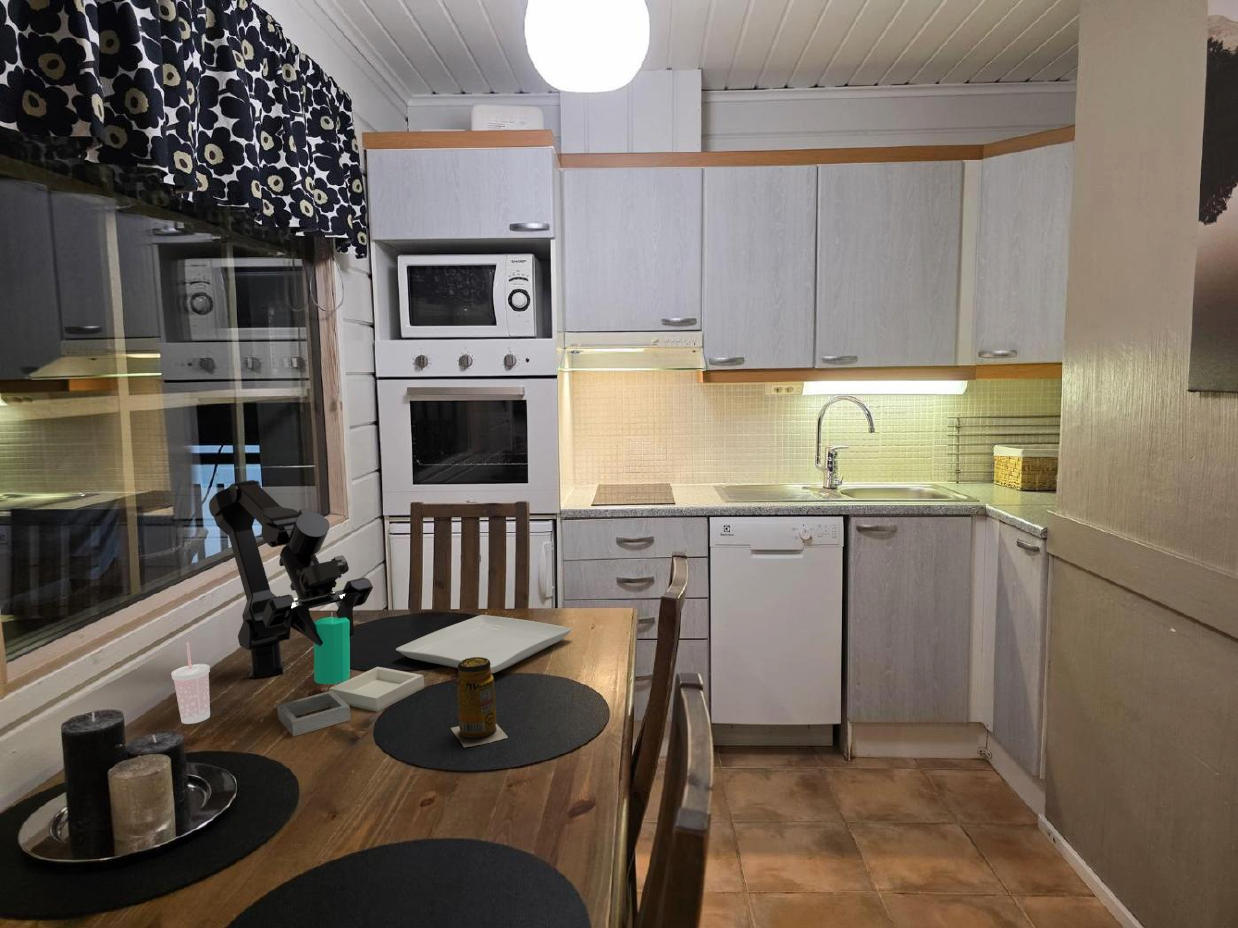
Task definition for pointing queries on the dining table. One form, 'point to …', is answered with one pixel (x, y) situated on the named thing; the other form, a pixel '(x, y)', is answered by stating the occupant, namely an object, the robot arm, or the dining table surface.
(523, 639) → the square plate
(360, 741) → the dining table surface
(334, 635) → the candle
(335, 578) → the robot arm
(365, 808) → the dining table surface
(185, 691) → the beverage cup
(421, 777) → the dining table surface
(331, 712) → the steel collar
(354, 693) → the tray
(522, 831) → the dining table surface
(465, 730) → the condiment
